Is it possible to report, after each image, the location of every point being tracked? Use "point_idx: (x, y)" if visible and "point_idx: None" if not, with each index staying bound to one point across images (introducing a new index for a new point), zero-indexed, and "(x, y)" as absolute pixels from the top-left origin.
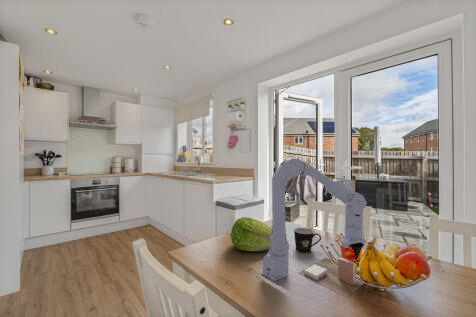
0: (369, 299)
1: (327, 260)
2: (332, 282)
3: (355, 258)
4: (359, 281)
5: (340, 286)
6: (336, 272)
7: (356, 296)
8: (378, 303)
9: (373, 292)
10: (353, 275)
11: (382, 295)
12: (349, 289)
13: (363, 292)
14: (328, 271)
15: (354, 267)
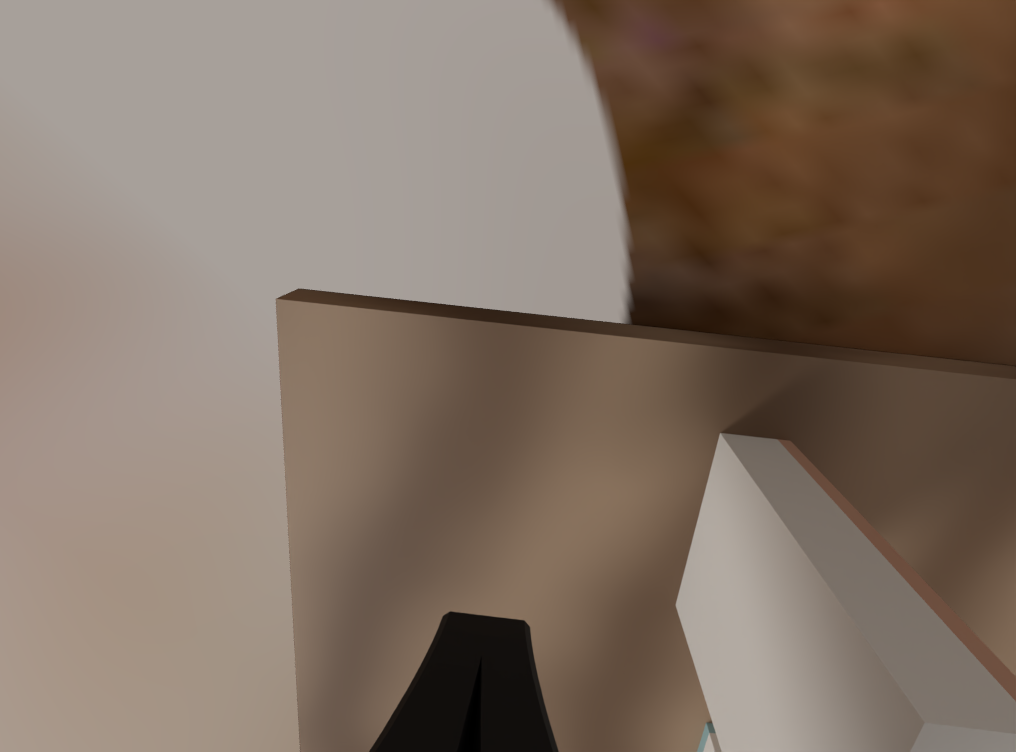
0: (925, 184)
1: None
2: None
3: (550, 749)
4: (626, 398)
5: (943, 542)
6: (591, 660)
7: (946, 336)
8: (965, 54)
9: (689, 186)
10: (845, 516)
11: (688, 58)
12: (957, 442)
13: (782, 292)
14: (639, 726)
15: (883, 619)
